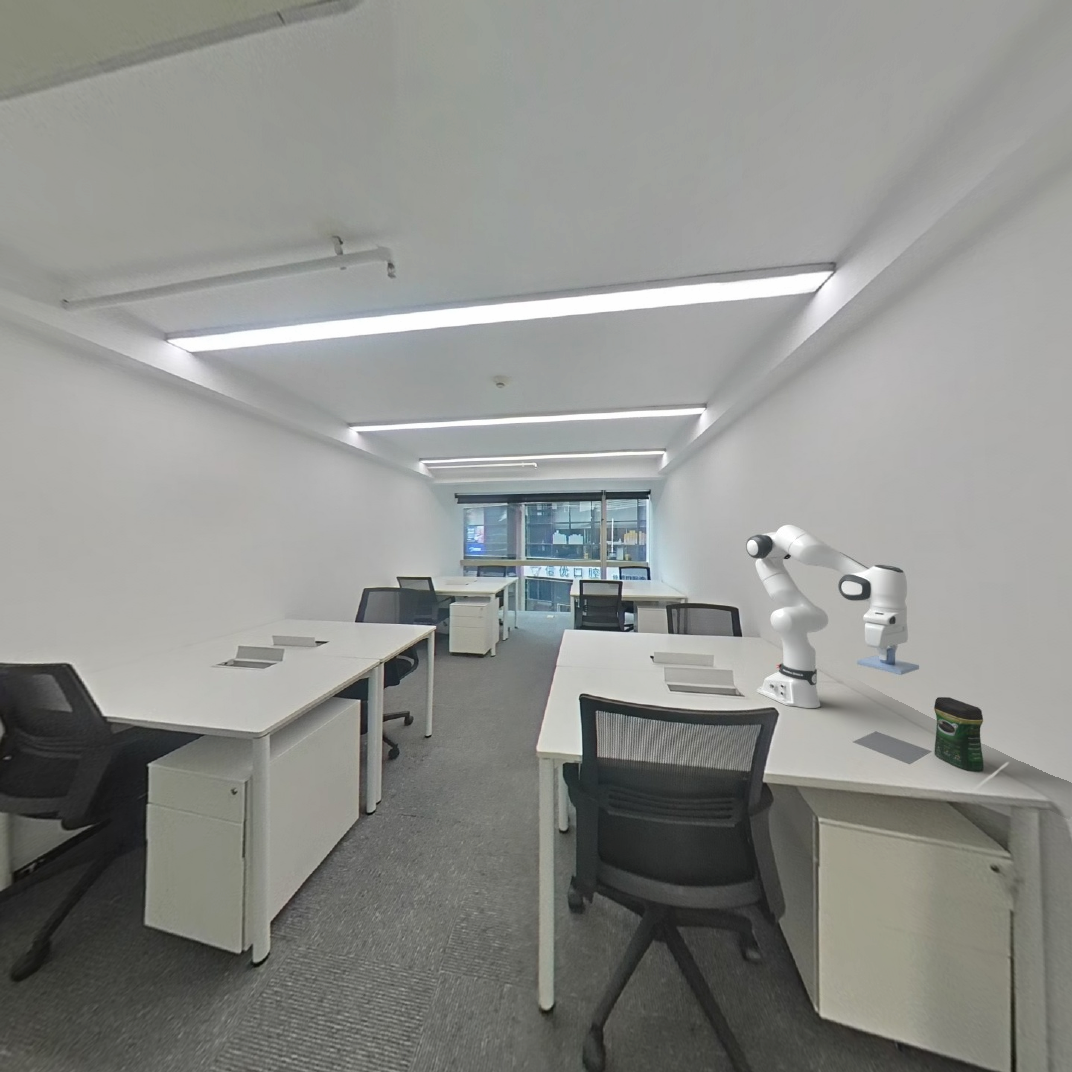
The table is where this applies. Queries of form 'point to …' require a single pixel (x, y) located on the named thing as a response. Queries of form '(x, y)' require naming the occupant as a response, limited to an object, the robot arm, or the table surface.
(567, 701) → the table surface
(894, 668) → the lid
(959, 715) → the coffee jar
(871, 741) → the mat
